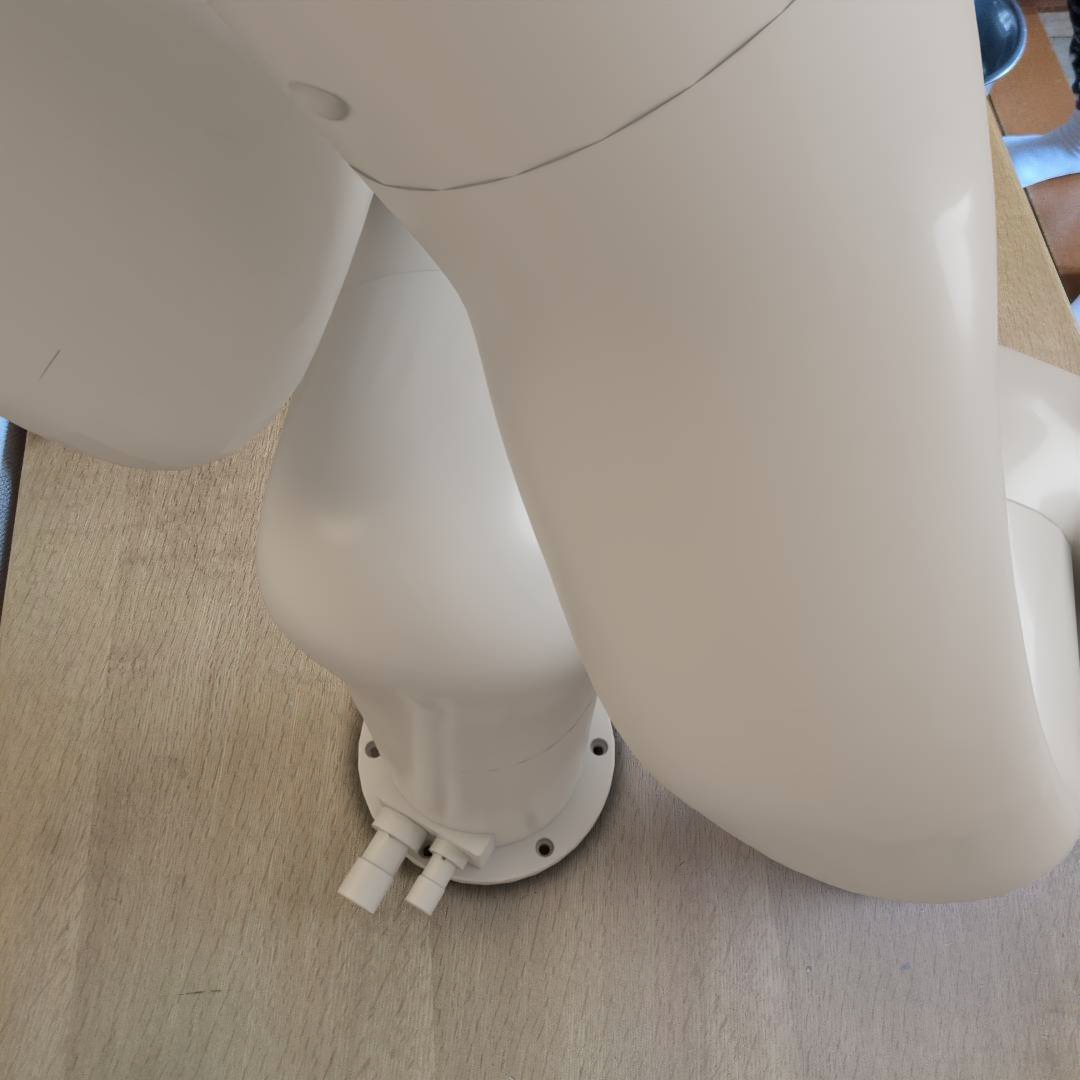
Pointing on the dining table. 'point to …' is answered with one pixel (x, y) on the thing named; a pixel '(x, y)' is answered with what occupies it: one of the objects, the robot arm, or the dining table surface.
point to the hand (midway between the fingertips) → (879, 814)
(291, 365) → the robot arm
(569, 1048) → the dining table surface
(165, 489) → the dining table surface
